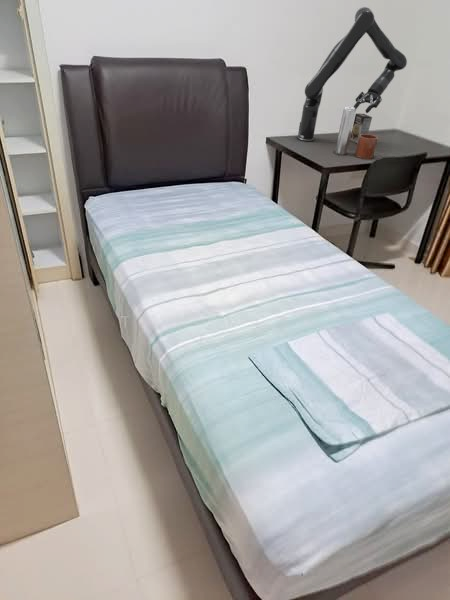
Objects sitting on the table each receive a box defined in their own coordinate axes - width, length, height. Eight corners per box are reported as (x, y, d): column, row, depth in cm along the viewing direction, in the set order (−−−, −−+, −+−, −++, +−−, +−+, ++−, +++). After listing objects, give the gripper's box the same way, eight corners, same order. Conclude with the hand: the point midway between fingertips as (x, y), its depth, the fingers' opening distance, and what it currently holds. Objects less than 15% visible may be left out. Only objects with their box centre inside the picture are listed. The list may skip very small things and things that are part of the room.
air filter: (348, 154, 250) (358, 108, 236) (338, 155, 248) (348, 108, 234) (341, 151, 255) (351, 105, 241) (332, 151, 253) (342, 106, 239)
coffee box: (349, 140, 278) (355, 113, 269) (357, 139, 280) (363, 113, 271) (357, 144, 271) (363, 116, 262) (365, 143, 273) (372, 116, 264)
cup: (351, 154, 252) (356, 134, 245) (364, 152, 256) (369, 133, 249) (362, 159, 245) (367, 139, 238) (376, 158, 249) (381, 138, 242)
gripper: (366, 79, 244) (348, 102, 245) (387, 84, 235) (368, 108, 236) (370, 89, 250) (352, 112, 251) (390, 94, 241) (372, 117, 242)
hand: (360, 110), depth 243 cm, fingers open, 8 cm apart
